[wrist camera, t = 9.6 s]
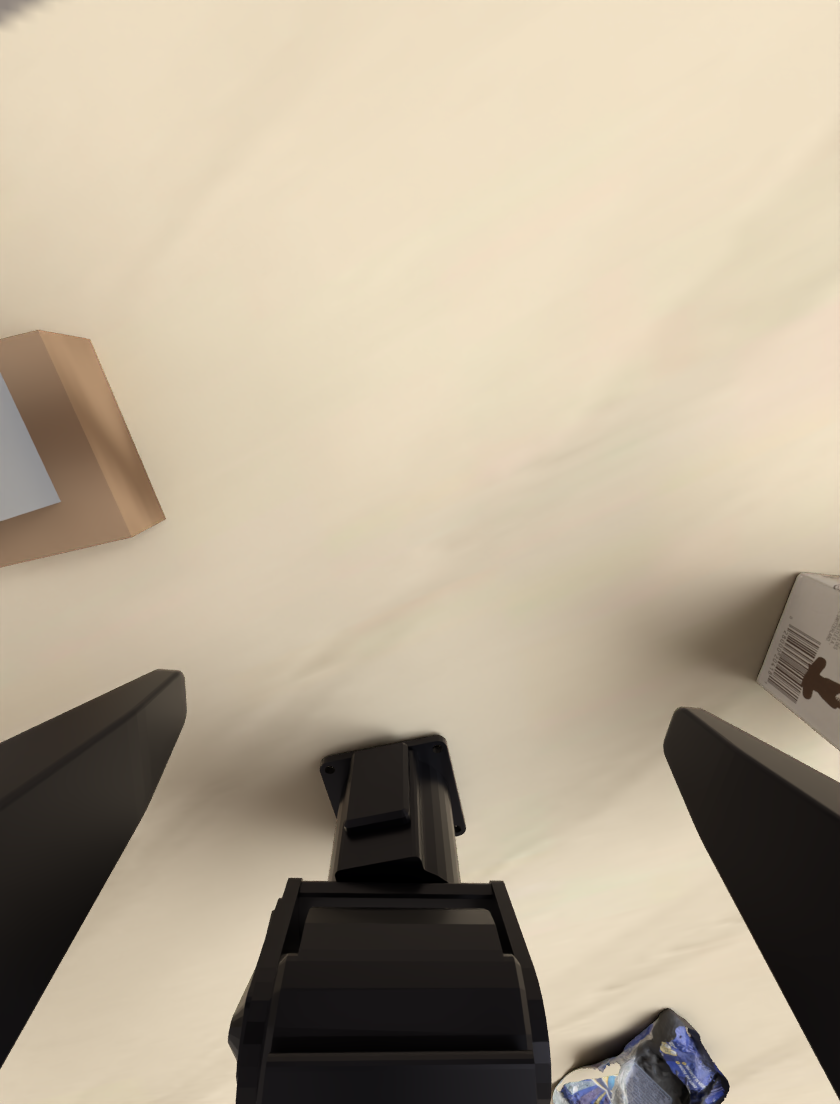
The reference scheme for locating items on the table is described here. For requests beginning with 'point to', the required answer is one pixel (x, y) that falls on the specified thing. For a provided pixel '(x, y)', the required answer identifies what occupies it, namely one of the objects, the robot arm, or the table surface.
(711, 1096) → the snack package
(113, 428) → the walnut slab
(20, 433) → the grey block
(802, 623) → the coffee box
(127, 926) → the table surface
